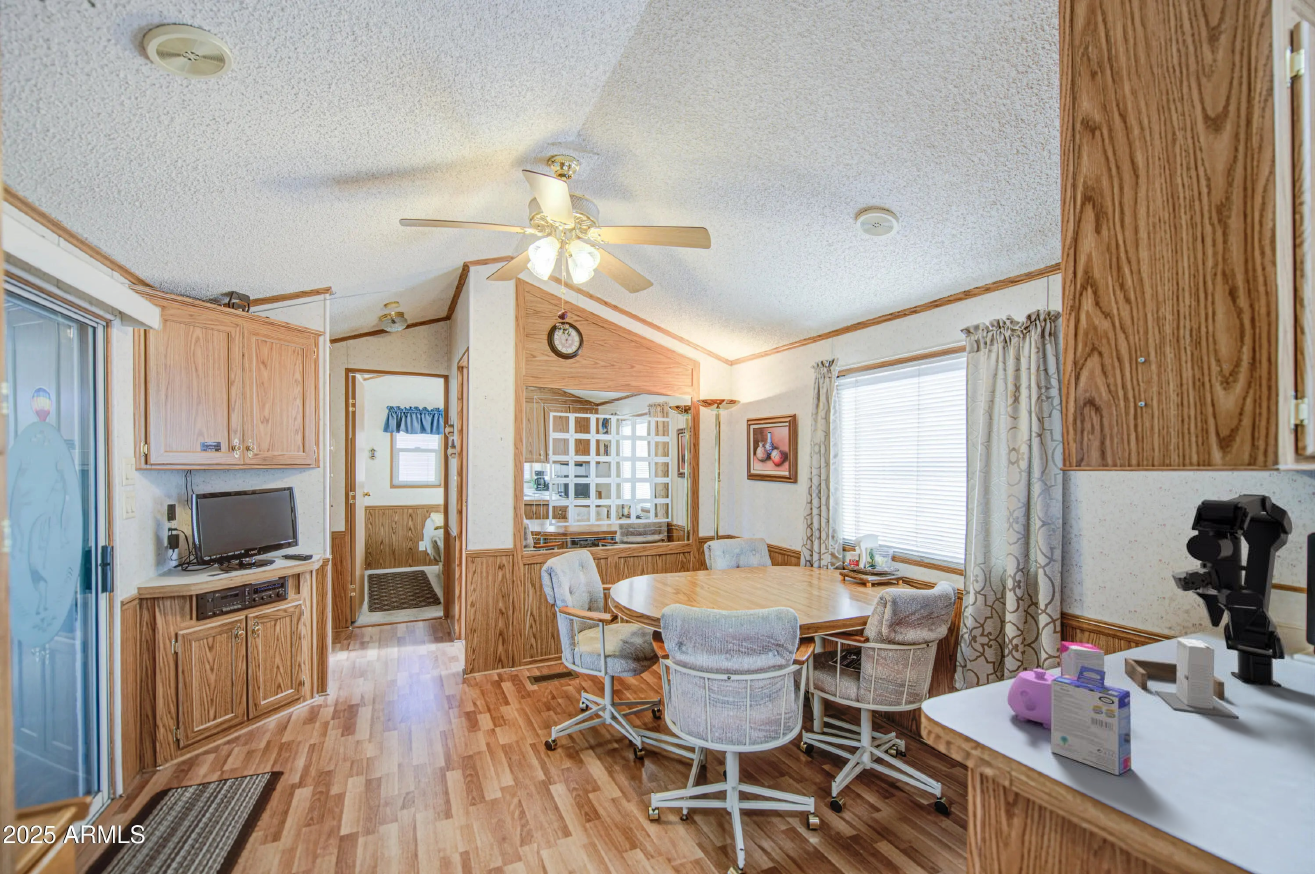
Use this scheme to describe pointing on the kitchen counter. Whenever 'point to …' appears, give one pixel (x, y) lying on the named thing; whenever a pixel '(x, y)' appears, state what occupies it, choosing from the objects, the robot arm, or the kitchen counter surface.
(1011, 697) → the pink rounded plastic body
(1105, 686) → the ink cartridge box
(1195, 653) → the skincare box
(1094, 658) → the supplement box
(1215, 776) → the kitchen counter surface
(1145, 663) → the walnut u-shaped bracket
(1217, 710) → the charcoal mat
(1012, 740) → the kitchen counter surface
